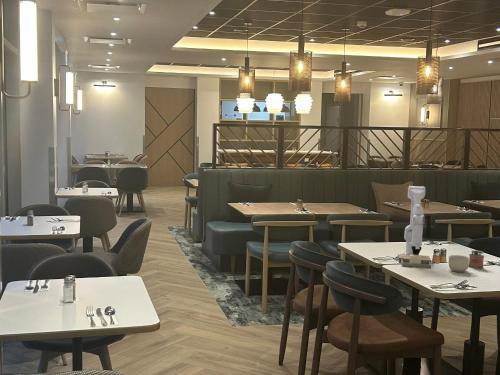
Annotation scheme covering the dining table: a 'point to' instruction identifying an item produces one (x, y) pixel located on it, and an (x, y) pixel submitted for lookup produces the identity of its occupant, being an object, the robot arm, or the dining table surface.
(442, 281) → the dining table surface
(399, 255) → the board
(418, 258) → the tile
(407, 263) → the tray
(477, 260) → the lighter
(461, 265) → the teacup
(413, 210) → the robot arm
